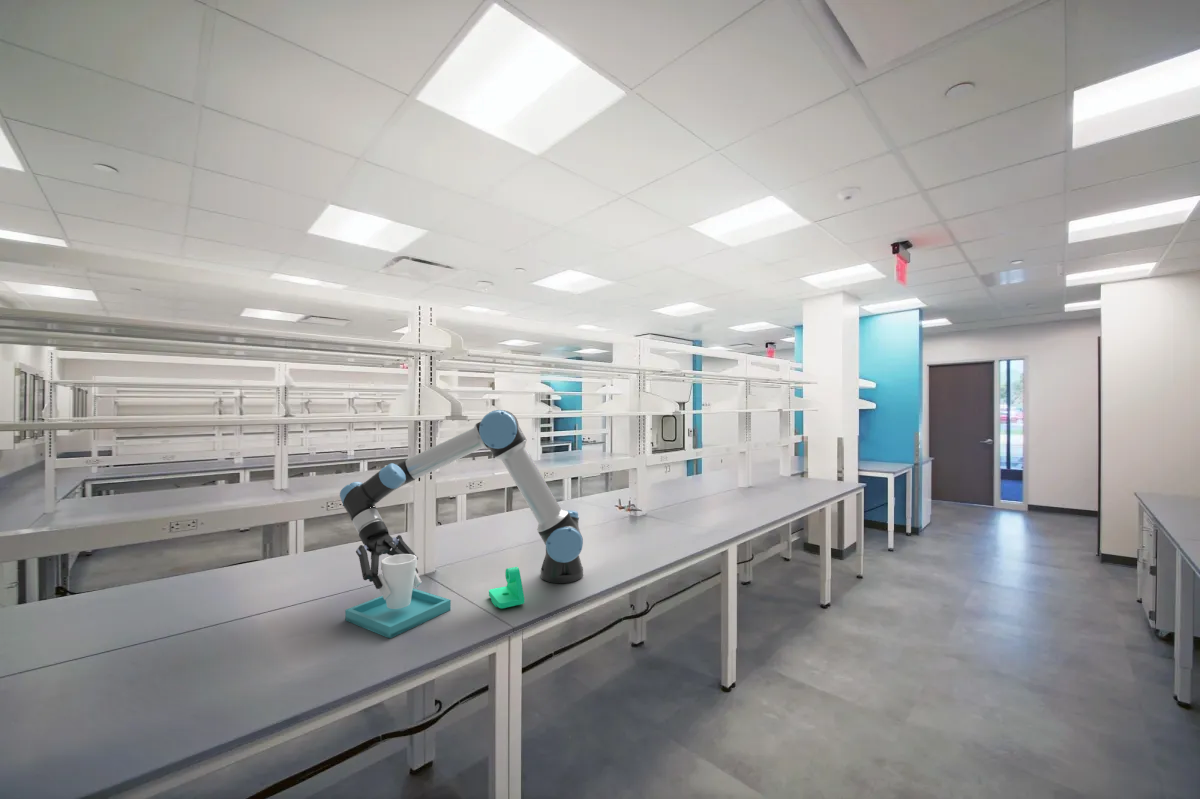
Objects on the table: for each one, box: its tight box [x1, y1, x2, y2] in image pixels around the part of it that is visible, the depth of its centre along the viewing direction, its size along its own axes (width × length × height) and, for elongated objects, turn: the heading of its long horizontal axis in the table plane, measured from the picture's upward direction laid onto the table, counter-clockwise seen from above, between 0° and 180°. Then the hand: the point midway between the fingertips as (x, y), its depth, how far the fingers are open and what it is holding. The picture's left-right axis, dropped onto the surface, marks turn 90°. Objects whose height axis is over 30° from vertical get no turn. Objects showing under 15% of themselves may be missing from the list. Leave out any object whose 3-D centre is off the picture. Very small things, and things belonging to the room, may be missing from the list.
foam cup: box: [380, 554, 418, 609], centre depth 135 cm, size 10×9×13 cm
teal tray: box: [344, 587, 452, 639], centre depth 135 cm, size 20×20×3 cm
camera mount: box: [488, 566, 525, 609], centre depth 144 cm, size 12×8×10 cm, turn 30°
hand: (403, 590), depth 134 cm, fingers closed on foam cup, 9 cm apart
